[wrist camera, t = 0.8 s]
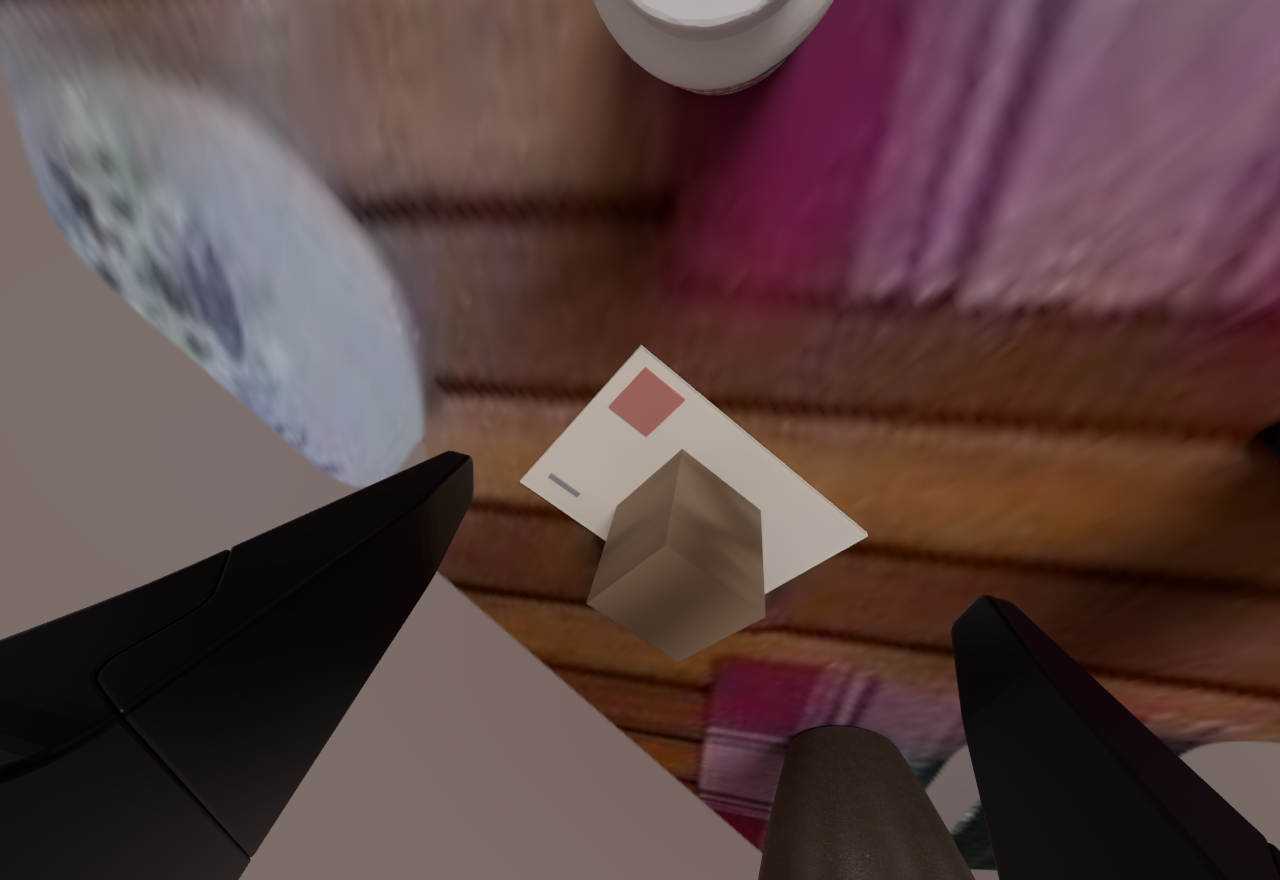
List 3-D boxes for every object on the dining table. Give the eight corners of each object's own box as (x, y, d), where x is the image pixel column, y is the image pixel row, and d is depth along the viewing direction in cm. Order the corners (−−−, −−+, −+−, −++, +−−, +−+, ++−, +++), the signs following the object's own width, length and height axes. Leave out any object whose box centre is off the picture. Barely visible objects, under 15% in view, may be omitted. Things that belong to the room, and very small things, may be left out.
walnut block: (760, 510, 23) (765, 616, 19) (690, 558, 26) (678, 662, 21) (682, 448, 22) (665, 545, 17) (617, 505, 25) (586, 603, 20)
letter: (866, 531, 23) (868, 537, 23) (719, 615, 29) (719, 621, 28) (641, 344, 20) (639, 348, 20) (521, 477, 25) (518, 482, 25)
